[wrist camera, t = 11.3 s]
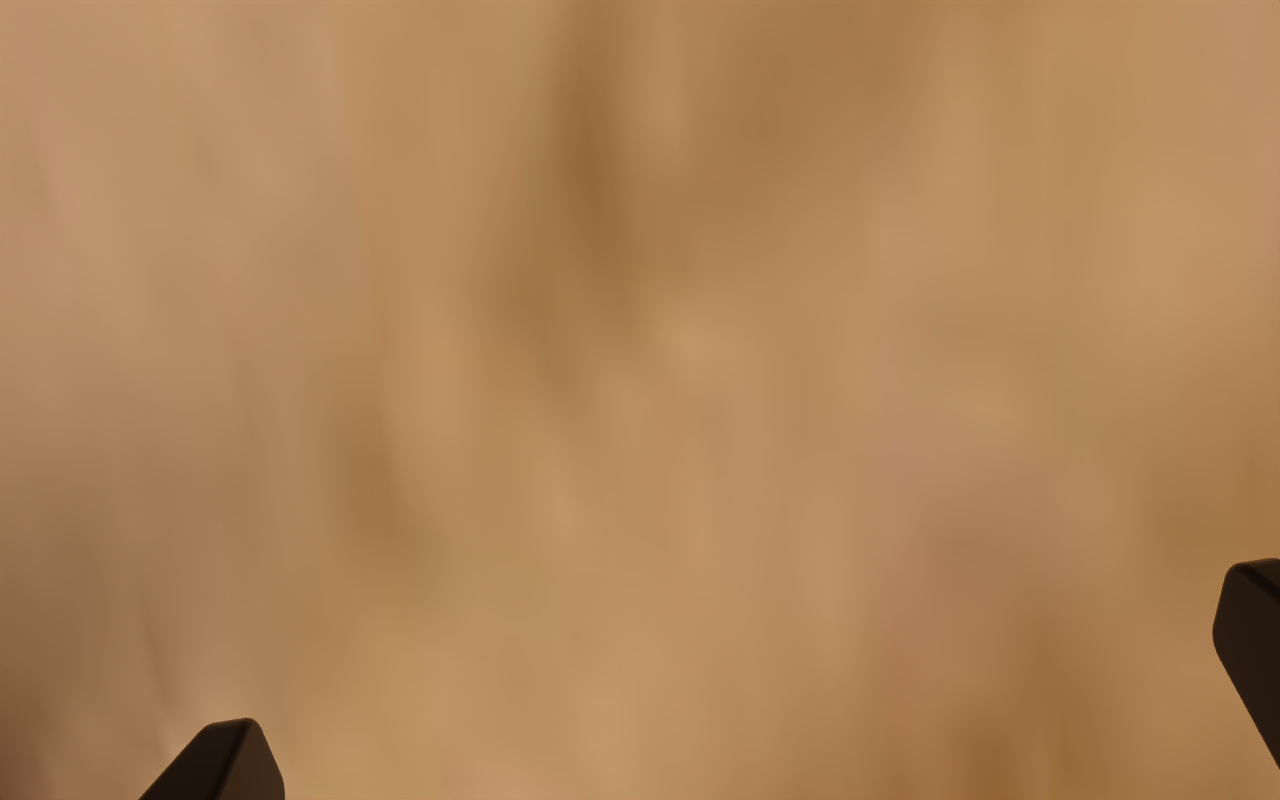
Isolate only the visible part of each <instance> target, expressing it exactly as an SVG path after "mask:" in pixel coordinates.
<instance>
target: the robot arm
mask: <svg viewBox="0 0 1280 800" xmlns="http://www.w3.org/2000/svg"><path fill="white" fill-rule="evenodd" d="M1213 642H1214V646H1215V649H1216V652H1217V654H1218V656H1219V659H1220V660H1221V662H1222V664H1223V666H1224V668H1225V670H1226V671H1227V673H1228V675H1229V677H1230V679H1231V681H1232V683H1233V684H1234V686H1235V688H1236V690H1237V692H1238V694H1239V695H1240V697H1241V699H1242V701H1243V703H1244V705H1245V707H1246V708H1247V710H1248V712H1249V714H1250V716H1251V718H1252V719H1253V721H1254V723H1255V725H1256V727H1257V729H1258V731H1259V732H1260V734H1261V736H1262V738H1263V740H1264V742H1265V743H1266V745H1267V747H1268V749H1269V751H1270V753H1271V755H1272V756H1273V758H1274V760H1275V762H1276V764H1277V766H1278V767H1279V769H1280V559H1277V558H1268V559H1261V560H1255V561H1248V562H1242V563H1237V564H1235V565H1233V566H1232V567H1231V568H1230V569H1229V570H1228V571H1227V573H1226V575H1225V579H1224V583H1223V587H1222V591H1221V595H1220V599H1219V603H1218V607H1217V611H1216V615H1215V619H1214V623H1213ZM138 800H285V789H284V783H283V778H282V776H281V773H280V771H279V768H278V766H277V764H276V761H275V759H274V757H273V754H272V752H271V750H270V747H269V745H268V743H267V740H266V738H265V736H264V734H263V731H262V729H261V727H260V726H259V724H258V723H257V722H256V721H255V720H254V719H252V718H241V719H235V720H229V721H222V722H216V723H212V724H209V725H207V726H206V727H204V728H203V729H202V730H201V731H200V732H199V733H198V734H197V735H196V736H195V737H194V738H193V739H192V740H191V741H190V743H189V744H188V745H187V746H186V747H185V748H184V749H183V750H182V751H181V753H180V754H179V755H178V756H177V757H176V758H175V759H174V760H173V762H172V763H171V764H170V765H169V766H168V767H167V768H166V769H165V770H164V772H163V773H162V774H161V775H160V776H159V777H158V778H157V779H156V780H155V782H154V783H153V784H152V785H151V786H150V787H149V788H148V789H147V790H146V792H145V793H144V794H143V795H142V796H141V797H140V798H139V799H138Z"/></svg>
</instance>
